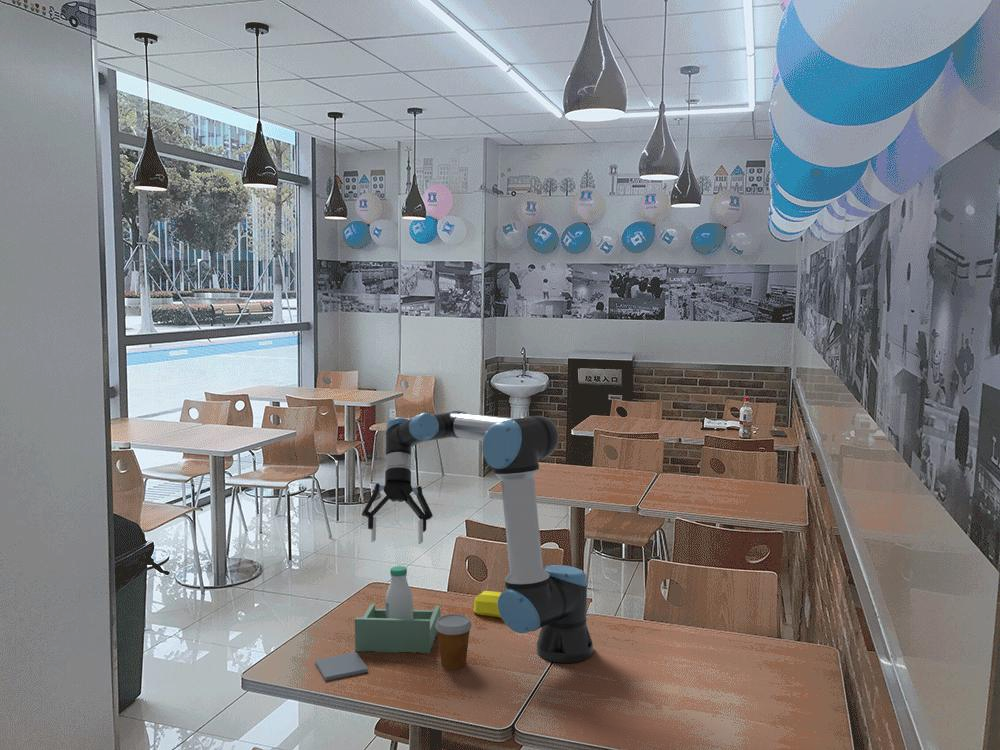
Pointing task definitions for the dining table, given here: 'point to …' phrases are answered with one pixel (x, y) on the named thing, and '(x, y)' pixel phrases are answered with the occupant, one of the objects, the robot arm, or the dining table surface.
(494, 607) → the yellow faceted block
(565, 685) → the dining table surface
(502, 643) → the dining table surface
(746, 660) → the dining table surface
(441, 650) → the disposable coffee cup
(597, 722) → the dining table surface
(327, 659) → the slate tile
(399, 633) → the green wooden frame
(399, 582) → the milk bottle
